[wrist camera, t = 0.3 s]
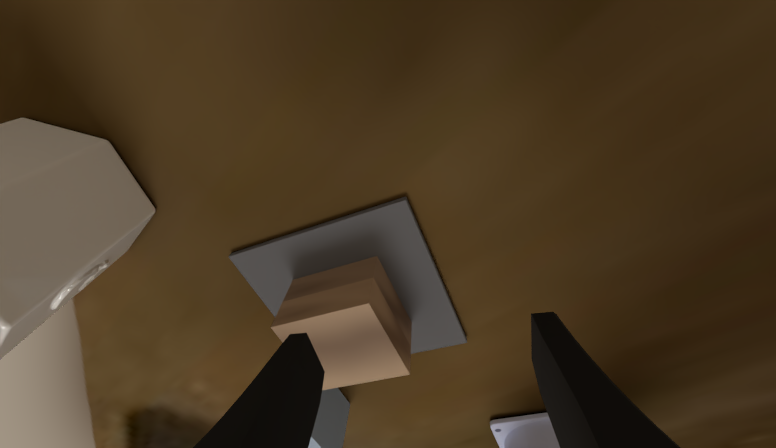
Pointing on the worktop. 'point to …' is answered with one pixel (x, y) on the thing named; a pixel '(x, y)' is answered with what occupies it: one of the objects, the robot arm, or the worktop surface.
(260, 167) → the worktop surface
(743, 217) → the worktop surface
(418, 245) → the mat
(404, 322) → the tan cardboard box
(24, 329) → the jar
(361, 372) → the slab upper
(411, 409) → the worktop surface
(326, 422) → the blue cube
